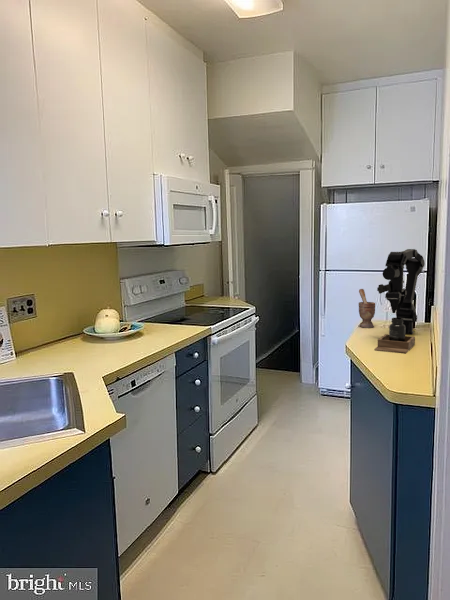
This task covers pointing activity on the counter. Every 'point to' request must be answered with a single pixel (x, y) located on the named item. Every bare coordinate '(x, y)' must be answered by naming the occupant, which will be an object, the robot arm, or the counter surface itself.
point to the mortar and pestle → (366, 311)
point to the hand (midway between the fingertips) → (395, 311)
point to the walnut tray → (395, 344)
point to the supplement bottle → (397, 330)
